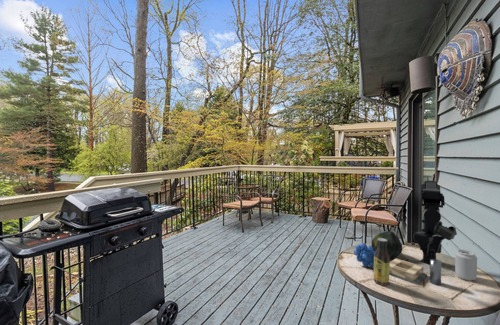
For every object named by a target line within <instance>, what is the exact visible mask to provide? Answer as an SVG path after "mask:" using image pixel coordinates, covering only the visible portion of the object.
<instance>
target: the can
mask: <svg viewBox="0 0 500 325" xmlns="http://www.w3.org/2000/svg"><path fill="white" fill-rule="evenodd" d="M454 255H455V257H454V258H455V259H454V260H455V262H454V263H455V265H454V267H455V268H454V274H455V275H456V276H457V277H458V278H459V279H461V280H464V281H469V282H472V280H474V281H475V280H477V278H478V276H477V274H478V257H477V256H476V253H475V252H473V251H470V250H466V249H458V250H457V251H456V252H455V254H454Z"/></svg>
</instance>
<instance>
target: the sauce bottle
mask: <svg viewBox="0 0 500 325" xmlns="http://www.w3.org/2000/svg"><path fill="white" fill-rule="evenodd" d="M377 242H378V246H377V250H376V252H375V255H374V267H373V275H372V277H373V281H374V283H375V284H378V285H380V286H387V285H389V284H390V283H389V281H390V275H389V268H390V262H391V261H390V258H391V257H390V256H389V253H388V252H387V243H388V241H387V239H384V238H378V239H377Z"/></svg>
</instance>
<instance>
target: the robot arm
mask: <svg viewBox="0 0 500 325" xmlns="http://www.w3.org/2000/svg"><path fill="white" fill-rule="evenodd" d="M420 197H421V198H420V203H421V207H423V219H421V223H423V228H421V231H416V232H414V233H413V236H412V238H413V240H414V241H416V242H417V244H418V246H419V251H421V252H422V258H421V259H420V262H421V263H424V264H428V265H430V259H437V254H441V253H442V243H443V242H442V241H444V240H446V241H447V240H448V241H451V240H454V239H455V236H457V235H458V233H457V229H456V227H455V226H454V225H450V226H449V227H448V226H444V225H443V222H442V220H441V219H442V215H441V212H440V211H441V210H440V208H442V209H443V208H444V207H445V204H446V202H445V195H444V194H443V192H442V193H441V186H440V185H439V184H438V183H437V181H436V180H424V183H422V184H421V185H420Z"/></svg>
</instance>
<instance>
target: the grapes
mask: <svg viewBox="0 0 500 325" xmlns="http://www.w3.org/2000/svg"><path fill="white" fill-rule="evenodd" d="M353 254H354V256H355V257H356V261H357V262H359V263H362V265H363V266H364V267H368V266H369V267H371V268H374V255H375V251H373V247H372V246H371V244H370V245H369V244H368V245H367V244H366V243H364V242H361V243H360V244H355V249H354V250H353Z"/></svg>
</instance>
